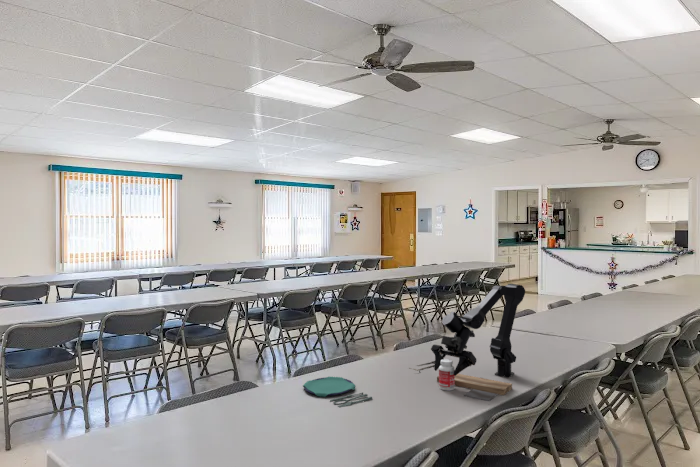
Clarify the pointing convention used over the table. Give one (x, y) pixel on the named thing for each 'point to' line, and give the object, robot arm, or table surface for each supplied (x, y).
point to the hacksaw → (425, 367)
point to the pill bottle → (446, 375)
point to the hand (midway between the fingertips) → (444, 372)
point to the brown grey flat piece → (481, 387)
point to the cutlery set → (333, 389)
